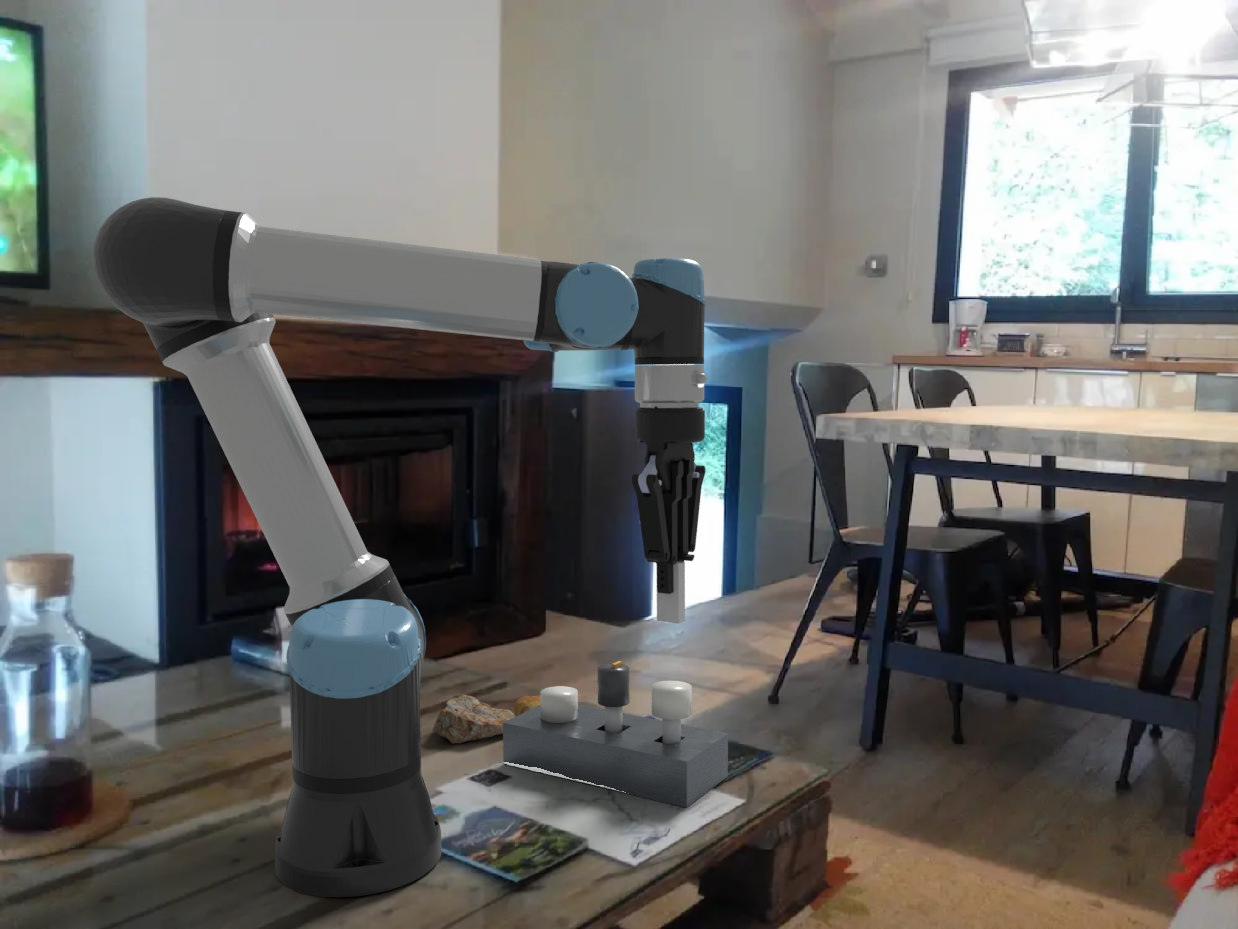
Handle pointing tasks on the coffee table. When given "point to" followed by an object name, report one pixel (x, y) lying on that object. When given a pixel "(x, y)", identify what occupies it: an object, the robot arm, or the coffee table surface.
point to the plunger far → (559, 704)
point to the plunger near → (671, 707)
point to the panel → (620, 754)
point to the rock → (470, 720)
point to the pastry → (526, 704)
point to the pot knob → (613, 693)
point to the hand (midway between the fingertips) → (670, 620)
